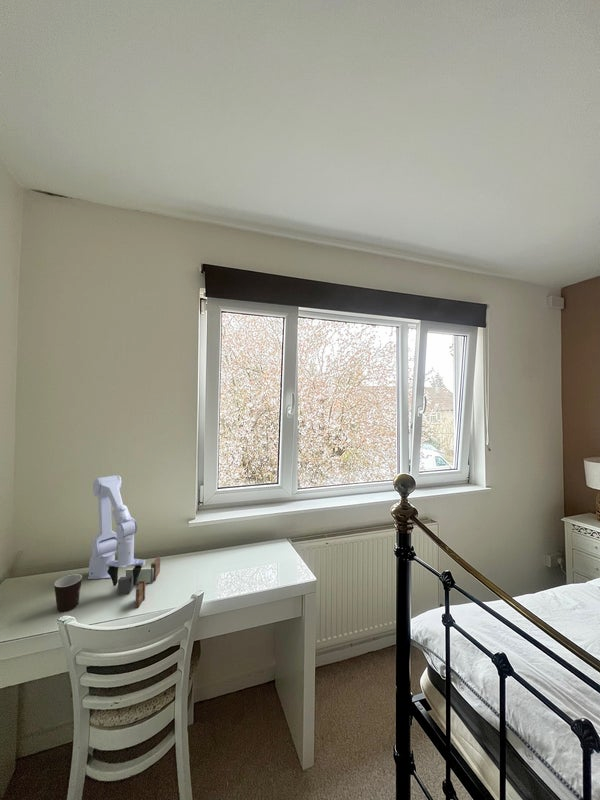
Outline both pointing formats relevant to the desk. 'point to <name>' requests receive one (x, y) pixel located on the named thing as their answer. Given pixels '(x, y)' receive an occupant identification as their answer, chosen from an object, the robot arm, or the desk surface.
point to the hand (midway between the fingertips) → (125, 584)
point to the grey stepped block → (125, 585)
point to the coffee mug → (67, 592)
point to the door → (142, 574)
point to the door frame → (141, 587)
